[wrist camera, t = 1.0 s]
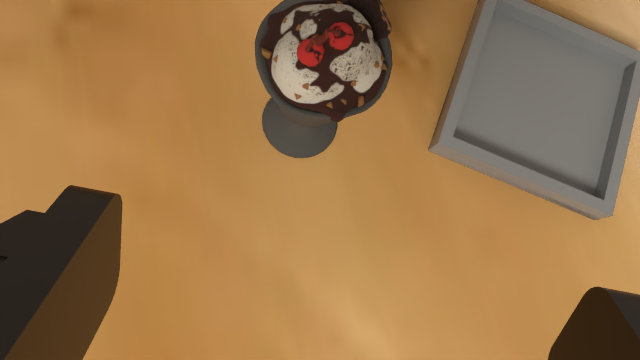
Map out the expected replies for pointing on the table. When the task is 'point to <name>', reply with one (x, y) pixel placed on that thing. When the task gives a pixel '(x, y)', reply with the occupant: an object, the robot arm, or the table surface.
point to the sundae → (320, 68)
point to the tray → (542, 106)
